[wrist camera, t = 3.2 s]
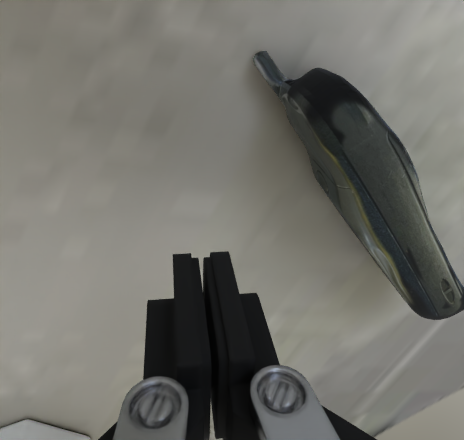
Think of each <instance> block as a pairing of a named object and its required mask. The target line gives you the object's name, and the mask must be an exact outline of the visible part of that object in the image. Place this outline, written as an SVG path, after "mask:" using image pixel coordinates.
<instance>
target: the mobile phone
mask: <svg viewBox="0 0 464 440" xmlns="http://www.w3.org/2000/svg"><path fill="white" fill-rule="evenodd" d="M253 62H254V64H255V66H256V67H257V69H258V70H259V71H260V73H261V74H262V76H263V77H264V78H265V80H266V81H267V82H268V84H269V85H270V86H271V87H272V89H273V90H274V91H275V93H276V94H277V96H278V97H279V99H280V100H281V102H282V103H283V105H284V106H285V108H286V112H287V117H288V120H289V122H290V124H291V125H292V127H293V128H294V130H295V131H296V133H297V134H298V136H299V137H300V139H301V140H302V142H303V143H304V145H305V147H306V149H307V151H308V154H309V157H310V161H311V165H312V169H313V173H314V175H315V178H316V180H317V181H318V183H319V184H320V186H321V187H322V189H323V190H324V192H325V193H326V194H327V196H328V197H329V199H330V200H331V202H332V203H333V204H334V206H335V207H336V209H337V210H338V211H339V213H340V214H341V216H342V217H343V218H344V220H345V221H346V223H347V224H348V225H349V227H350V228H351V229H352V231H353V232H354V233H355V235H356V236H357V237H358V239H359V240H360V241H361V243H362V244H363V245H364V247H365V248H366V249H367V251H368V252H369V254H370V255H371V256H372V258H373V259H374V260H375V262H376V263H377V264H378V266H379V267H380V268H381V270H382V271H383V273H384V274H385V275H386V276H387V278H388V279H389V280H390V282H391V283H392V284H393V286H394V287H395V288H396V290H397V291H398V292H399V293H400V295H401V296H402V297H403V299H404V300H405V301H406V302H407V304H408V305H409V306H410V307H411V309H412V310H413V311H414V312H415V313H417V314H418V315H420V316H421V317H424V318H427V319H432V320H440V319H445V318H448V317H451V316H453V315H455V314H457V313H459V312H461V311H462V310H464V287H463V286H462V284H461V283H460V281H459V279H458V278H457V276H456V274H455V272H454V270H453V269H452V267H451V265H450V263H449V261H448V259H447V256H446V254H445V252H444V250H443V248H442V246H441V244H440V242H439V240H438V238H437V236H436V234H435V233H434V231H433V229H432V227H431V224H430V222H429V219H428V215H427V211H426V207H425V204H424V200H423V197H422V193H421V190H420V185H419V180H418V176H417V173H416V170H415V168H414V165H413V163H412V161H411V159H410V157H409V155H408V153H407V151H406V149H405V147H404V146H403V144H402V143H401V141H400V140H399V138H398V137H397V136H396V134H395V133H394V132H393V131H392V130H391V128H390V127H389V126H388V125H387V124H386V123H385V121H384V120H383V119H382V118H381V116H380V115H379V114H378V113H377V111H376V110H375V109H374V108H373V106H372V105H371V104H370V103H369V101H368V100H367V99H366V98H365V97H364V96H363V95H362V94H361V93H360V92H359V91H358V90H357V89H356V88H355V87H354V86H353V85H351V84H350V83H349V82H348V81H346V80H345V79H344V78H342V77H341V76H339V75H337V74H334V73H332V72H330V71H328V70H325V69H322V68H315V69H312V70H311V71H309V72H308V73H306V74H305V75H304V76H302V77H301V78H299V79H296V80H292V79H288V78H286V77H285V76H284V75H283V74H282V73H281V72H280V71H279V69H278V68H277V66H276V65H275V63H274V62H273V60H272V59H271V57H270V56H269V54H268V53H267V52H266V51H260V52H259V53H257V54H256V55H255V56H254V57H253Z"/></svg>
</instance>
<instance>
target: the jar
mask: <svg viewBox="0 0 464 440" xmlns="http://www.w3.org/2000/svg"><path fill="white" fill-rule="evenodd" d="M0 440H90V437H89V436H86V435H82V434H78V433H75V432H71V431H68V430H64V429H61V428H57V427H54V426H50V425H47V424H43V423H40V422H36V421H33V420H29V419H26V420H23V421H20V422H17V423H14V424H11V425H9V426H6V427H3V428H0Z"/></svg>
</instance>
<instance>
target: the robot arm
mask: <svg viewBox="0 0 464 440" xmlns="http://www.w3.org/2000/svg"><path fill="white" fill-rule="evenodd" d="M173 275H174V299H159V300H148V303H147V320H146V339H145V358H144V376H143V380H142V381H140V382H139V383H138V384H136V385H135V386H133V387H132V388H131V390H130V391H129V392H128V393H127V394H126V397H125V399H124V401H123V403H122V407H121V411H120V414H119V418H118V421H117V422H116V423H115V424H114V425H113V426H112V427H111V428H110V429H109V430H108V431H107V432H106V433H105V434H104V435H103V436H101V437H100V438H99V439H98V440H209V436H210V402H211V405H212V413H213V422H214V431H215V438H216V439H219V438H223V440H376V439H375V438H373V437H372V436H370V435H368V434H367V433H365V432H364V431H362V430H360V429H359V428H357V427H356V426H354V425H352V424H351V423H349V422H347V421H346V420H344V419H343V418H341V417H339V416H338V415H336V414H335V413H333V412H331V411H330V410H328V409H326V408H325V407H323V406H322V405H321V404H320V402H319V400H318V398H317V396H316V395H315V393H314V391H313V389H312V387H311V386H310V384H309V382H308V381H307V380H306V378H305V377H304V376H303V375H302V374H300V373H299V372H298V371H297V370H295V369H292V368H290V367H288V366H282V365H280V364H279V361H278V358H277V355H276V351H275V348H274V345H273V342H272V338H271V335H270V332H269V329H268V326H267V322H266V319H265V316H264V313H263V310H262V306H261V303H260V300H259V297H258V295H257V294H256V293H249V294H239V290H238V286H237V282H236V278H235V274H234V270H233V266H232V262H231V258H230V254H229V252H211V253H210V257H205V258H204V260H203V290H202V283H201V275H200V267H199V260H198V258H191V253H189V254H173Z"/></svg>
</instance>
